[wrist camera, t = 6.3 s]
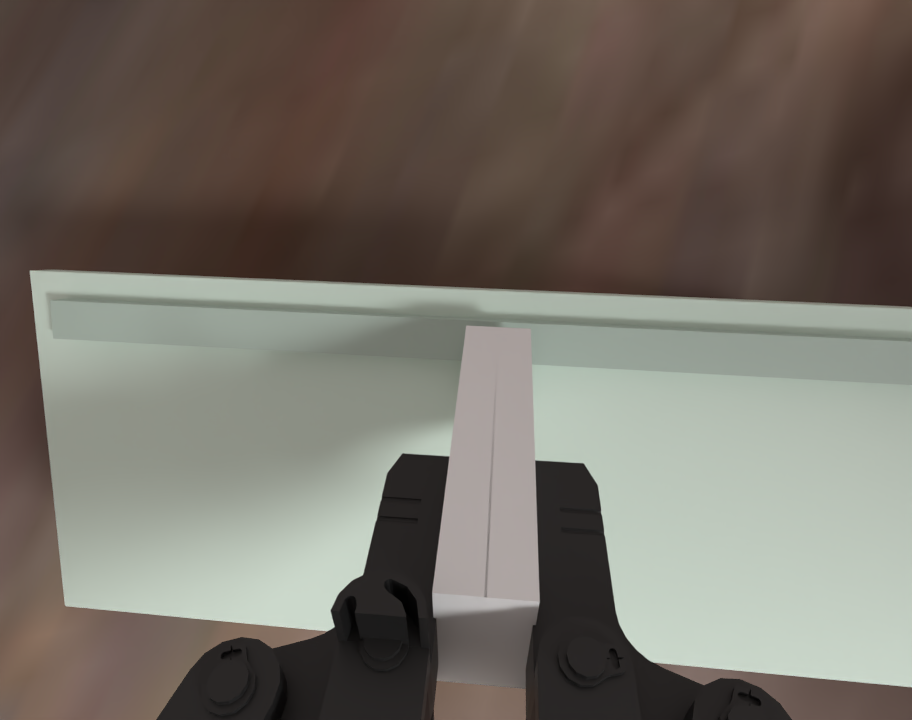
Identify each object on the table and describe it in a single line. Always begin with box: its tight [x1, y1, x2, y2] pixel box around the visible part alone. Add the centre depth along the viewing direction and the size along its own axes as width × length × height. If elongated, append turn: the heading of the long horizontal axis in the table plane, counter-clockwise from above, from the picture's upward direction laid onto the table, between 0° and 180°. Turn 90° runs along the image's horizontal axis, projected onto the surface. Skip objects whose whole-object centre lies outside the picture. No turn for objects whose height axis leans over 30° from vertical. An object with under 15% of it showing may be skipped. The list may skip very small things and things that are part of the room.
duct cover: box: [30, 270, 912, 687], centre depth 15 cm, size 26×10×1 cm, turn 87°
